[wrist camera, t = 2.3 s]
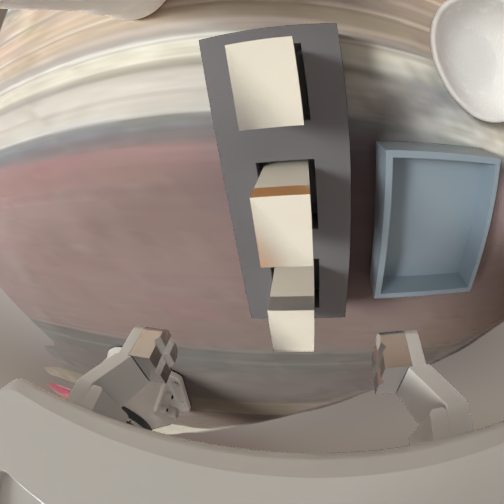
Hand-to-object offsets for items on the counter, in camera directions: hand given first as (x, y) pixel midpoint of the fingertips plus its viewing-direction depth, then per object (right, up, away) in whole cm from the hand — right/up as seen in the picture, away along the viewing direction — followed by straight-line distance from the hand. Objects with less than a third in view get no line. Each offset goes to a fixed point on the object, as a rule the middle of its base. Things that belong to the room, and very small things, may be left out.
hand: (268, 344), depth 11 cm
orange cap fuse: (+3, +10, +15) cm, 18 cm away
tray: (+17, +7, +15) cm, 24 cm away
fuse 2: (+4, +2, +19) cm, 20 cm away
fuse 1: (+1, +17, +10) cm, 20 cm away
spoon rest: (+24, +25, +2) cm, 34 cm away
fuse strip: (+3, +10, +15) cm, 19 cm away
